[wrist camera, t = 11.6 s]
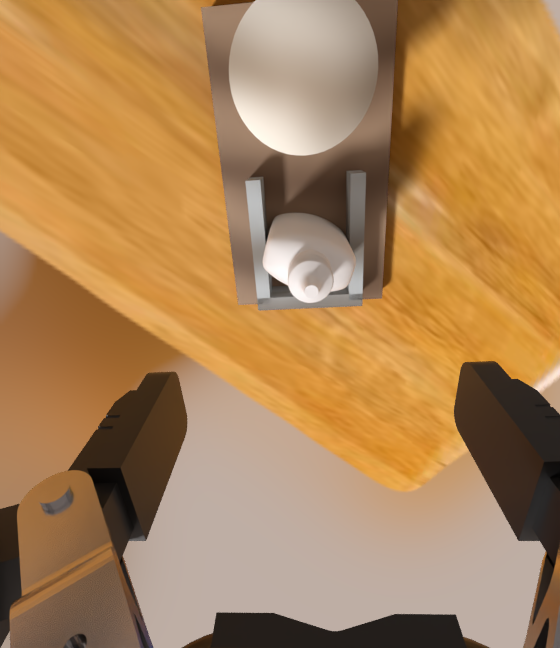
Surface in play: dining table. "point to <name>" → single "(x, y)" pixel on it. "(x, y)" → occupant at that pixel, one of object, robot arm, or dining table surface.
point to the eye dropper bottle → (308, 256)
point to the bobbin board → (303, 169)
